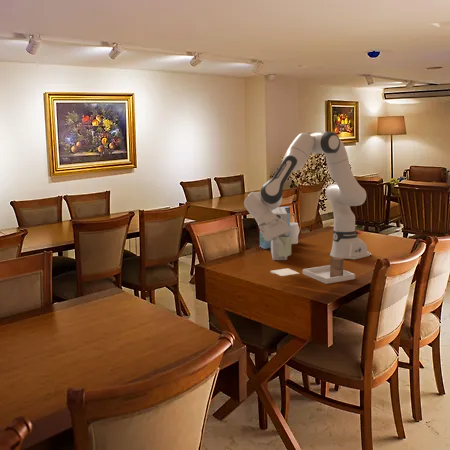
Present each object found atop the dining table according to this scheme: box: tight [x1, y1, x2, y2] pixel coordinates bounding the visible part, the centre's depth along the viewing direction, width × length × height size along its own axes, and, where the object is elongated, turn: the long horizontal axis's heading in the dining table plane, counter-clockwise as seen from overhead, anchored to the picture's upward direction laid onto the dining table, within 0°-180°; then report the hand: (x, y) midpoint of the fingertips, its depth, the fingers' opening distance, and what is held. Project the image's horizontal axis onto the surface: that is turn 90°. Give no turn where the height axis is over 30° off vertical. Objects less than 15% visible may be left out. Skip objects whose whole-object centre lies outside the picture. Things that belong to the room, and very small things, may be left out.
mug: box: [290, 221, 300, 245], centre depth 307 cm, size 12×8×12 cm
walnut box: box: [329, 257, 345, 278], centre depth 229 cm, size 4×4×9 cm
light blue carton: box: [259, 206, 291, 250], centre depth 296 cm, size 20×5×23 cm, turn 124°
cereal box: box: [270, 206, 288, 261], centre depth 274 cm, size 22×8×25 cm, turn 178°
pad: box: [269, 268, 300, 277], centre depth 239 cm, size 10×10×1 cm
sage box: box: [278, 235, 292, 258], centre depth 237 cm, size 4×4×9 cm
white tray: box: [302, 264, 356, 285], centre depth 232 cm, size 16×18×3 cm
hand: (286, 244), depth 237 cm, fingers closed on sage box, 4 cm apart
